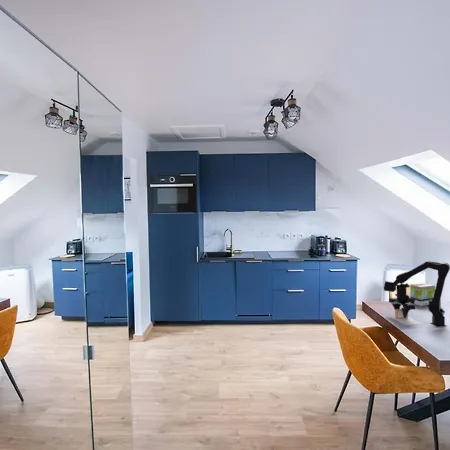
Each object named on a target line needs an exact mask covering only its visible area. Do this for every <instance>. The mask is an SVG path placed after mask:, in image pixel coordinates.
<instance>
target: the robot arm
mask: <svg viewBox="0 0 450 450" xmlns="http://www.w3.org/2000/svg"><path fill="white" fill-rule="evenodd" d="M427 269H432V270H434V271H435V270H436V271H437V281H436V285H435V293H434V297H433V300H432V299H430V300H429V305H427V308H428V311H429V312H430V313H431V318H432V319H431V322H430V324H431V325H433V326H435V327H437V328H441V327H447V324H446V322H445V321H446V319H445V318H446V317H445V316H444V315H445V313H446V311H445V310H444V309H443V308H442V301H441V300H442V299H441V298H442V294H443V291H444V286H445V281H446V278H447V276H448V274H449V271H450V264H449V263H448V262H437V261H430V260H426V261H425V262H423V263H422V264H420V265H418V266H416V267H414V268H413V269H410V270H409V271H405V272H402V273H399V274H397V276H396V277H395V280H393V281H388V280H385V281H384V285H383V291H385V292H389V293H394V292H395V291H396V293H395V294H394V296H396V297H389V298H388V302H389V303H390V304H391V305H392V307H393V309H394V310H395V309H402V312H403V316H404V318H406V317H407V314H408V315H409V312H410V311H411V310H416V305H415V304H414V302H415V299H412V298H410V296H409V295H408V294H407V293H408V292H407V288H410V286H411V284H408V283H407V281H408V280H409V279H411V278H412V277H413V276H416V275H417V274H419V273H422V272H423V271H425V270H427ZM401 306H402V307H401Z"/></svg>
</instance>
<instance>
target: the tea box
mask: <svg viewBox="0 0 450 450" xmlns="http://www.w3.org/2000/svg"><path fill="white" fill-rule="evenodd" d="M409 288H410V290H409V291H410V292H409V293H410V294H409V295H410V296H409V298H412V299H415V302H414V304H413V305H415V306H416V305H417V306H419V307H423V306H428V305H429V300H430V299H432V300H433V297H434V293H435V289H436V285H434V284H429V283H426V282H425V283H424V282H422V283H414V284H410V287H409Z"/></svg>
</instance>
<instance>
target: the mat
mask: <svg viewBox="0 0 450 450" xmlns="http://www.w3.org/2000/svg"><path fill="white" fill-rule="evenodd" d="M392 319H393V320H395V321H397V322H399V323H401V324H402V325H405V326H409V325H424V324H423V323H422V322H421V321H419V320H416V319H415V318H412V317H410V316H408V318H403V319H396V318H395V316H394V317H392Z"/></svg>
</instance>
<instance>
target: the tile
mask: <svg viewBox="0 0 450 450" xmlns="http://www.w3.org/2000/svg"><path fill="white" fill-rule="evenodd" d="M394 313H395V314H394V317H395V318H396V319H403V318H404V316H403V312H402V309H401V308H400V309H394ZM408 317H409V313H408V314H407V317H406V318H408Z"/></svg>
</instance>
